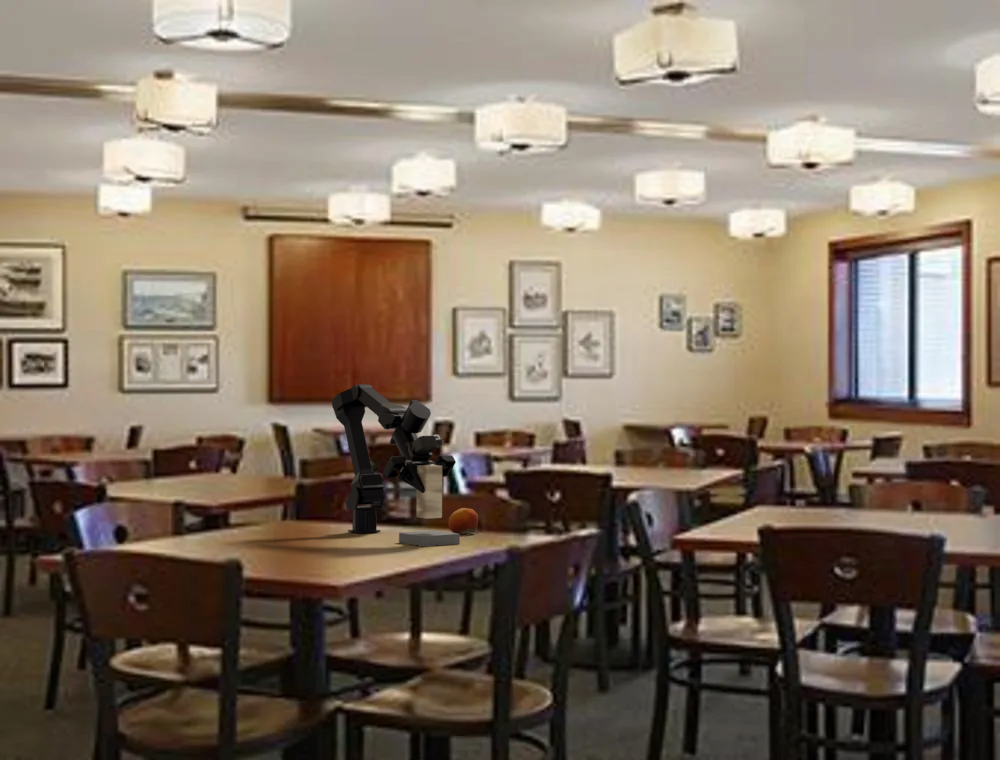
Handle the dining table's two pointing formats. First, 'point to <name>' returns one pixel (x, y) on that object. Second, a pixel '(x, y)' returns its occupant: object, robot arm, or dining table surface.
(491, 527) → the dining table surface
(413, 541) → the plinth
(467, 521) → the fruit
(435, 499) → the maple post
